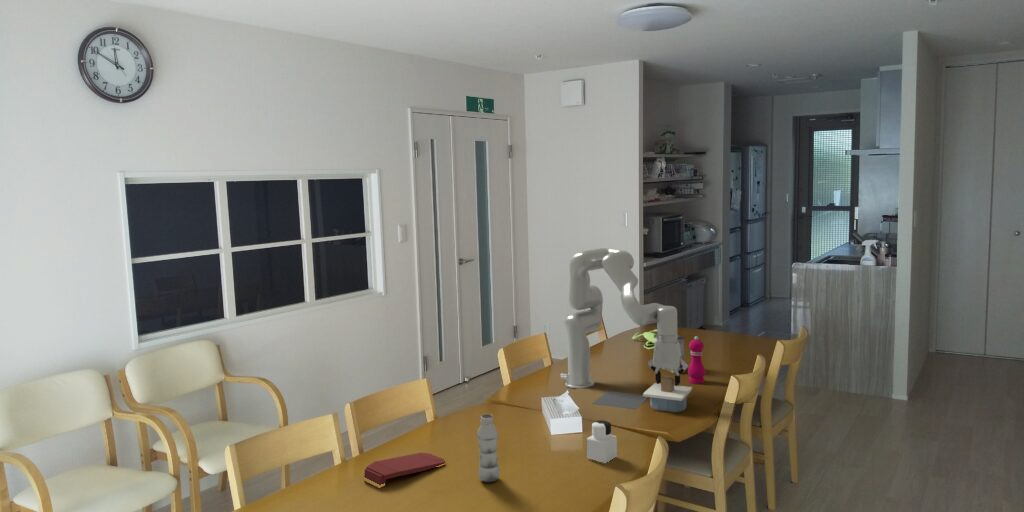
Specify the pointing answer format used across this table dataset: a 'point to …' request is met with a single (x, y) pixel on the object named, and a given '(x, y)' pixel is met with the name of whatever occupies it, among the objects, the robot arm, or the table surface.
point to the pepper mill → (696, 362)
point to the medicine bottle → (601, 442)
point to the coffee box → (681, 342)
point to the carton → (401, 466)
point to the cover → (667, 390)
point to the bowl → (668, 404)
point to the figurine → (648, 336)
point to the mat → (621, 400)
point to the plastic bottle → (488, 449)
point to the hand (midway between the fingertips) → (667, 383)
